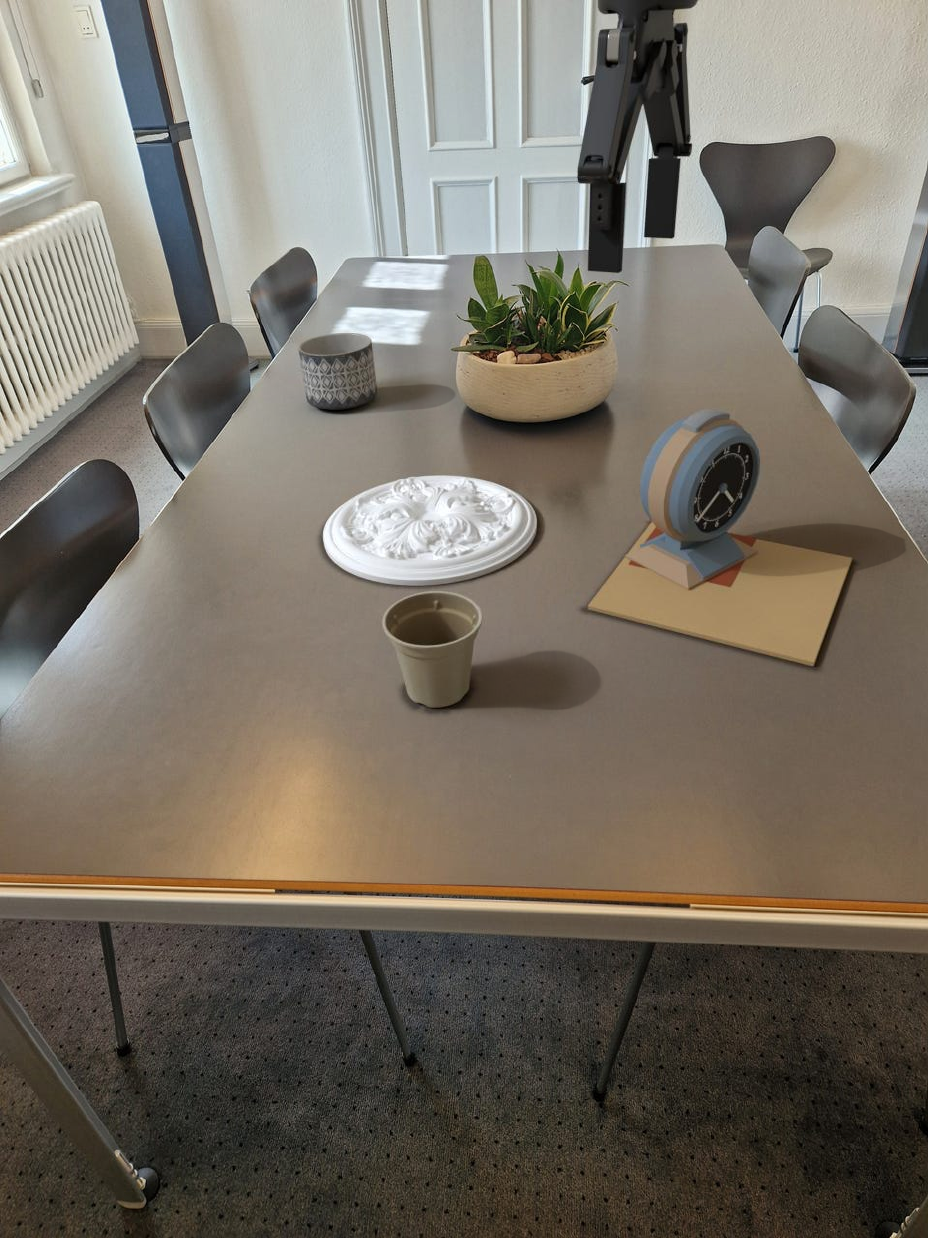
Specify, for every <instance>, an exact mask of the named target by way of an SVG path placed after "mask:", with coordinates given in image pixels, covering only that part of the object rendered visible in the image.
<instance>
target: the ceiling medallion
mask: <svg viewBox="0 0 928 1238" xmlns="http://www.w3.org/2000/svg"><path fill="white" fill-rule="evenodd" d="M537 530H538V519H537V514H536V511H535V509H534V508H533V506H532V505H531V503H530V502H529V501H528V500H527V499H525V497H523V496H522V495H521V494H519V493H517V492H515V490H512V489H510V488H508V487H506V486H503V485H501V484H498V483H496V482H492V481H488V480H484V479H480V478H475V477H468V476H460V475H424V476H423V475H422V476H410V477H407V478H399V479H397V480H393V481H390V482H387V483H383V484H380V485H377V486H375V487H372V488H369V489H367V490H365V491H363V492H360V493H358V494H357V495H355V496H353V497H352V498H350V499H348V500H347V501H345V502H344V503H342V505H340V506H339V507H338V508H336V510H334V512H333V513H331V514H330V516H329V517H328V519H327V520H326V522H325V524H324V528H323V532H322V540H323V546H324V549H325V551H326V554H327V556H328V557H329V558H330V560H331V561H332V562H333V563H335V565H336V566H338V567H339V568H341V569H342V570H344V571H346V572H348V573H350V574H352V575H354V576H356V577H359V578H362V579H364V580H368V581H372V582H375V583H381V584H388V585H394V586H395V585H396V586H406V587H407V586H411V587H413V586H414V587H415V586H416V587H421V586H423V587H425V586H436V585H437V586H438V585H447V584H453V583H458V582H464V581H467V580H471V579H475V578H479V577H481V576H484V575H487V574H490V573H492V572H495V571H497V570H499V569H501V568H503V567H505V566H507V565H509V564H510V563H512V562H513V561H515V560H517V559H518V558H519V557H520V556H522V555H523V554H524V553H525V552H526V551H527V550H528V548H530V546H531V545H532V544H533V541H534V539H535V538H536V534H537Z"/></svg>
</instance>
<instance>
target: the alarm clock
mask: <svg viewBox="0 0 928 1238" xmlns="http://www.w3.org/2000/svg"><path fill="white" fill-rule="evenodd" d="M730 417H731V413H729V412H727V411H723V410H721V409H716V408H705V409H701V410H699V411H697V412H695V413H693V414H691V415H690V416H689V417H688V416H687V417H684V418H681V419H679V420H678V421H676V422H674V423H673V424H671V425H670V426H669V427H668V428H666V430H664V431H663V432H662V433H660V434H661V435H660V436H659V437H658V438H657V439H656V441H655V442H654V444H653V445H652V447H651V449H650V451H649V452H648V455H647V457H646V459H645V462H644V464H643V467H642V470H641V475H640V481H639V482H640V483H639V498H640V501H641V505H642V508H643V510H644V513H645V514H646V516H647V517H648V518H649V520H650V522H653V523H654V525H655V526H656V527H657V529H658V530H660V531H662V532H664V534H662V535H659V536H657V537H655V538H653V539H651V540H649V541H647V542H645V543H643V544H641V545H640V548H639V549H637V550H635V551H632V552H630V553H627V554H625V555H624V558H625V557H627V558H629V559H631V560H632V561H634V562H636V563H638V564H640V565H642V566H644V567H646V568H648V569H650V570H651V571H653V572H655V573H657V574H659V575H661V576H663V577H665V578H667V579H669V580H671V581H672V582H674V583H676V584H678V585H680V586H682V587H684V588H686V589H690V588H692V587H694V586H696V585H698V584H700V583H702V582H703V581H705V580H707V579H709V578H711V577H713V576H715V575H717V574H718V573H720V572H722V571H724V570H726V569H728V568H730V567H731V566H733V565H735V564H737V563H739V562H741V561H743V560H745V559H746V558H748V557H750V556H752V555H754V554H756V553H758V550H756V549H754V548H752V547H750V546H749V545H747V544H745V543H743V542H741V541H739V540H738V539H735V538H733V537H731V536H730V534H729V533H730V532H728V531H729V530H730V529H731V528H732V527H733V526H734V525H735V524H736V523H737V522H738V520H739V519H740V518H741V516H742V515H743V514H744V512H745V511H746V509H747V507H748V506H749V504H750V502H751V500H752V498H753V495H754V493H755V490H756V488H757V484H758V481H759V476H760V471H761V456H760V451H759V448H758V446H757V444H756V442H755V440H754V438H753V436H752V435H751V433H749V432H748V431H746V430H745V428H744V427H743V426H742V425H741V424H740V423H739V422H738V421H736V420H733V419H731V418H730Z"/></svg>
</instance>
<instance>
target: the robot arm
mask: <svg viewBox="0 0 928 1238" xmlns="http://www.w3.org/2000/svg"><path fill="white" fill-rule="evenodd" d="M698 1H699V0H597V9H598V12H599V13H601V15H617V19H618V20H617V25H616V28H603V29H600V30H599V32H598V36H597V46H596V47H597V49H596V62H595V71H594V76H593V81H592V87H591V93H590V99H589V102H588V103H589V104H588V108H587V115H586V119H585V127H584V131H583V137H582V141H581V148H580V153H579V158H578V163H577V175H576V176H577V177H576V178H577V182H578V184H581V185H582V184H583V185H585V184H586V185H587V184H588V185H589V204H588V205H589V207H588V209H589V210H588V215H589V216H588V242H587V243H588V246H587V249H588V250H587V272H597V273H598V272H599V273H612V274H620V273H621V272H622V271H623V256H624V238H625V220H626V219H625V217H626V216H625V215H626V196H627V195H626V194H627V182H621V180H622V177H623V173H624V171H625V167H626V163H627V161H628V160H627V159H628V156H629V153H630V150H631V146H632V142H633V138H634V135H635V131H636V128H637V124H638V121H639V118H640V114H641V111H642V108H643V110H644V115H645V120H646V125H647V130H648V134H649V140H650V144H651V149H652V154H653V156H654V157H651V158H649V159H648V164H647V180H646V194H645V195H646V196H645V197H646V198H645V212H644V213H645V214H644V227H643V228H644V229H643V238H647V239H648V238H650V239H670V240H671V239H674V238H675V237H676V236H675V235H676V222H677V210H678V209H677V208H678V197H679V183H680V172H681V162H682V161H681V160H682V159H681V158H682V157H683V158H685V157H687V158H688V157H691V155H692V150H693V143H692V142H691V139H692V135H691V120H690V119H691V117H690V116H691V115H690V99H689V98H690V97H689V79H688V78H689V77H688V59H687V58H688V57H687V52H688V51H687V50H688V35H689V34H688V33H689V28H688V23H687V22H676V23H675V19H674V15H675V11H676V10H688V9H689V10H690V9H692V8H694V7H695V6H696V5H697V3H698Z"/></svg>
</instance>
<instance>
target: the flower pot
mask: <svg viewBox="0 0 928 1238" xmlns="http://www.w3.org/2000/svg"><path fill="white" fill-rule="evenodd" d="M482 623H483V611H482V609H481V607H480V606H479V605H478V604H477V602H475V601H474V600H473V599H471V598H470V597H467V596H465V595H463V594H460V593H458V592H453V591H452V592H451V591H447V590H431V591H430V590H427V591H421V592H417V593H413V594H410V595H408V596H405V597H403V598H401V599H398V600H397V601H395V602H394V603H392V604H391V605H390V606H389V607H388V608H387V609H386V610H385V611H384V613H383V616H382V620H381V624H382V625H381V626H382V629H383V631H384V633H385V636H387V637H388V639H389V641H390V644H391V645H392V646H393V647H394V651H395V653H396V658H397V661H398V664H399V667H400V671H401V675H402V678H403V682H404V685H405V689H406V693H407V695H408V697H409V698H410V699H411V701H413V702H414V703H415V704H421V705H424V706H426V707H427V708H434V709H436V708H444V707H448V706H453V705H455V704H456V703H458V702H460V701H461V700H462V699H463V697H464V696H465V695H466V694H467V693H468V692H469V689H470V680H471V671H472V664H473V663H472V662H473V654H474V645H475V640H476V638H477V636H478V632H479V630H480V629H481V626H482Z"/></svg>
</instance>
